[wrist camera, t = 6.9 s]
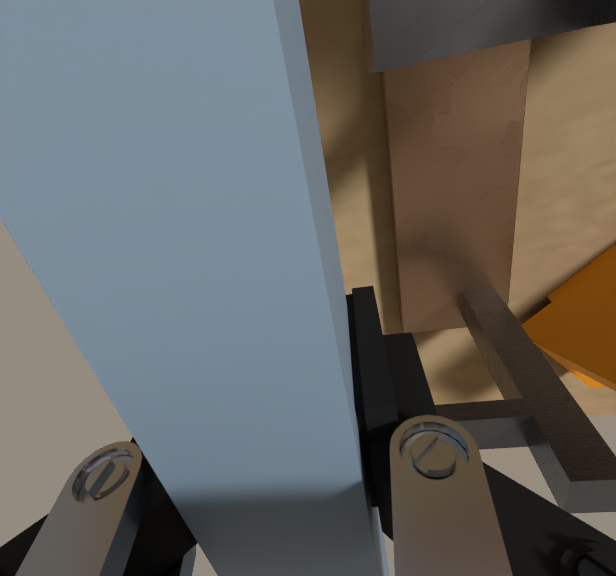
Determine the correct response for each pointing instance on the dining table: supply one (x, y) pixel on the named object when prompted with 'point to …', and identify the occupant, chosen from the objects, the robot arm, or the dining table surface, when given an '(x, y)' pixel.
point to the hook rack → (478, 212)
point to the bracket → (582, 323)
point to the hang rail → (196, 261)
